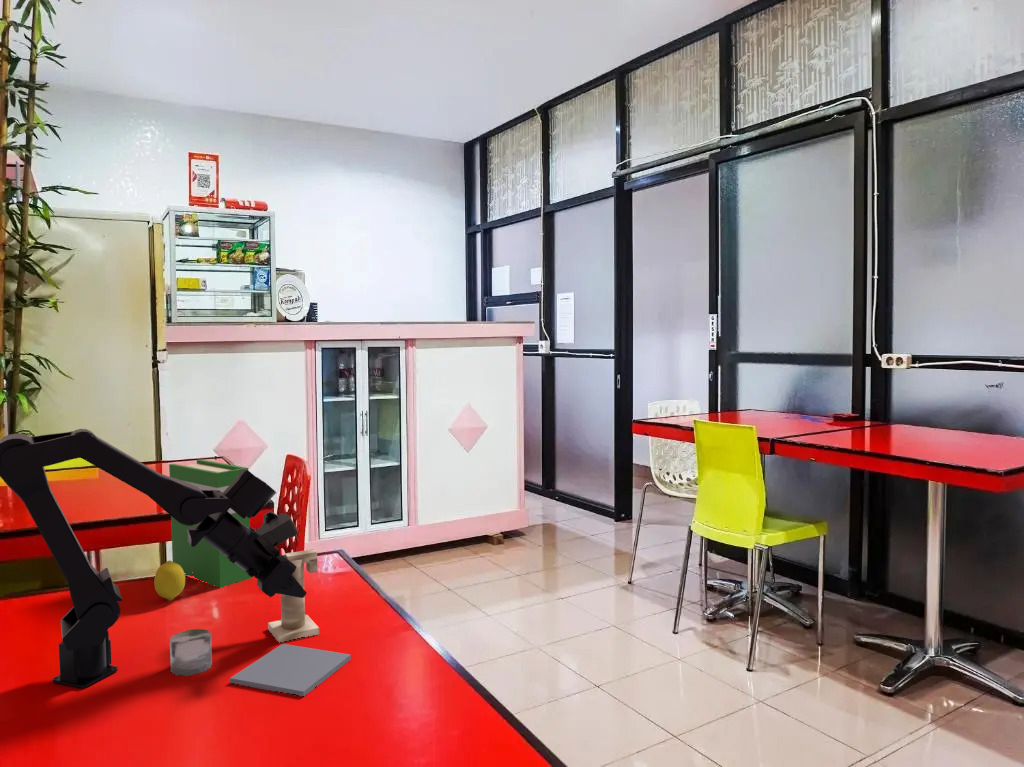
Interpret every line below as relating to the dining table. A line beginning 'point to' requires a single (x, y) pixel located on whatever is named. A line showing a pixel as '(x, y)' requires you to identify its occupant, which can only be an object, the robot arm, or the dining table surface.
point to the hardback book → (203, 556)
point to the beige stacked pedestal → (296, 603)
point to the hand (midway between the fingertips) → (300, 591)
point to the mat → (291, 669)
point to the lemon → (169, 580)
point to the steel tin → (190, 652)
